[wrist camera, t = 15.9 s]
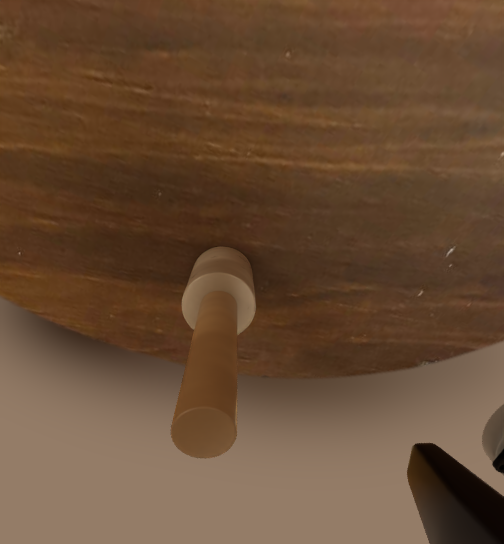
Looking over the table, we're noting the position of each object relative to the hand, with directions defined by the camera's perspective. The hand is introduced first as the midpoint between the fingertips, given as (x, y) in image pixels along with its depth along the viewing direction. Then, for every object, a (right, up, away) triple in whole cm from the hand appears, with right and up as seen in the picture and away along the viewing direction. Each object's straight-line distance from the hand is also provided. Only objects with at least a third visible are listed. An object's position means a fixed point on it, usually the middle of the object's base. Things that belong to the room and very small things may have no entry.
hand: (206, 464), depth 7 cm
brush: (-1, +4, +11) cm, 12 cm away
